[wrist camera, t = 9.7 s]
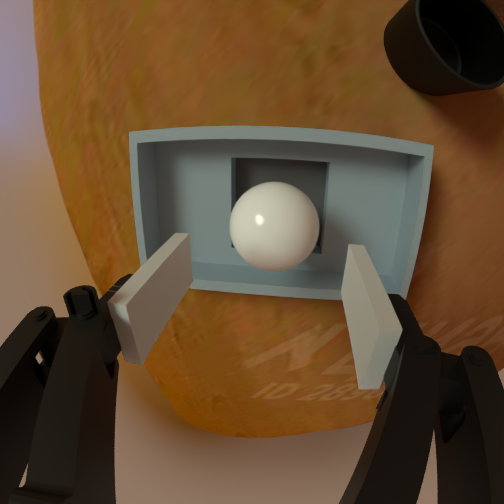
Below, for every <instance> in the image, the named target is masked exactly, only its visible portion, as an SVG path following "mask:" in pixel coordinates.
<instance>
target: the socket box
mask: <svg viewBox="0 0 504 504" xmlns="http://www.w3.org/2000/svg"><path fill="white" fill-rule="evenodd" d="M129 147H130V167H131V183H132V195H133V207H134V217H135V226H136V234H137V242H138V250H139V257H140V264H141V266H142V265H143V264H144V263H145V262H146V261H147V260H148V259H149V258H150V257H151V256H152V255H153V254H154V253H155V252H156V251H157V250H158V249H159V248H160V247H161V246H162V245H163V244H164V243H165V242H166V241H168V240H169V239H170V238H171V237H172V236H173V235H174V234H175V233H189V236H190V250H191V263H192V275H193V282H192V284H191V285H190V287H189V288H192V289H202V290H212V291H222V292H233V293H245V294H256V295H269V296H282V297H297V298H312V299H329V300H342V296H341V288H342V283H343V277H344V271H345V265H346V258H347V252H348V245H349V244H356V245H364V247H365V249H366V251H367V253H368V255H369V257H370V259H371V261H372V263H373V265H374V267H375V269H376V271H377V273H378V275H379V277H380V280H381V282H382V284H383V286H384V288H385V290H386V292H387V294H399V295H400V296H401V297H403V298H404V299H405V300H406V297H407V293H408V290H409V286H410V282H411V278H412V274H413V271H414V266H415V262H416V258H417V254H418V249H419V244H420V240H421V235H422V230H423V224H424V219H425V213H426V207H427V201H428V194H429V187H430V179H431V170H432V161H433V149H434V146H433V145H428V144H423V143H418V142H413V141H407V140H401V139H396V138H389V137H383V136H376V135H369V134H361V133H353V132H344V131H334V130H323V129H311V128H295V127H273V126H205V127H183V128H168V129H155V130H145V131H135V132H129ZM265 182H284V183H287V184H290V185H293V186H295V187H297V188H298V189H300V190H301V191H303V192H304V193H305V194H306V195H307V196H308V197H309V198H310V200H311V201H312V203H313V204H314V206H315V208H316V210H317V213H318V217H319V226H320V228H319V236H318V240H317V243H316V245H315V248H314V249H313V251H312V252H311V254H310V255H309V256H308V257H307V258H306V259H305V260H304V261H303V262H302V263H300V264H299V265H297V266H296V267H293V268H291V269H288V270H285V271H279V272H270V271H264V270H261V269H258V268H256V267H254V266H252V265H250V264H249V263H247V262H246V261H245V260H244V259H243V258H242V257H241V256H240V255H239V254H238V252H237V251H236V249H235V247H234V245H233V243H232V240H231V236H230V229H229V223H230V216H231V213H232V210H233V208H234V206H235V204H236V202H237V201H238V199H239V198H240V197H241V196H242V195H243V194H244V193H245V192H246V191H247V190H249V189H250V188H252V187H254V186H256V185H258V184H261V183H265Z"/></svg>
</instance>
